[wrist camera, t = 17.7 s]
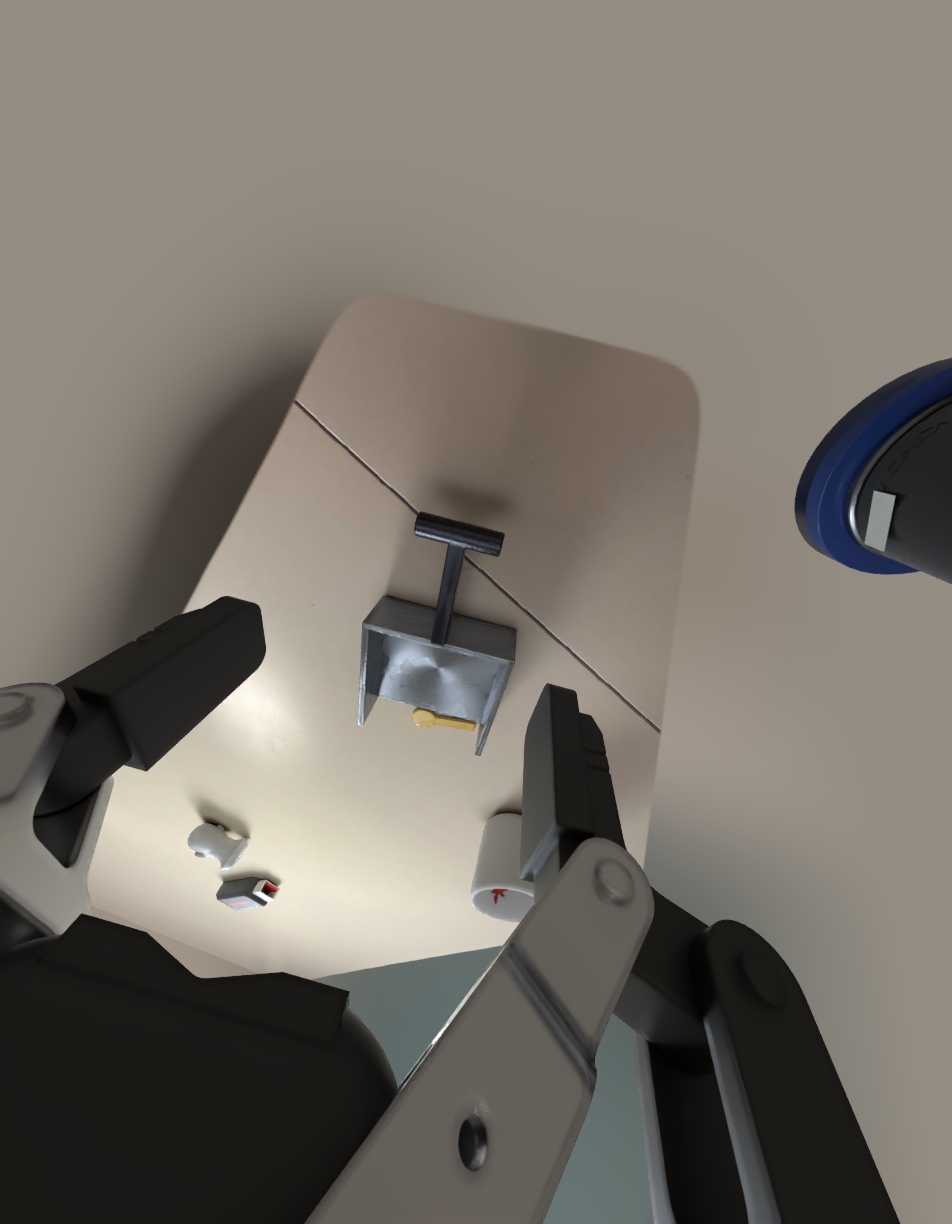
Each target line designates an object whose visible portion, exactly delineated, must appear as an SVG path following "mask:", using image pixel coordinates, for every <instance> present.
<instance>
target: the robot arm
mask: <svg viewBox="0 0 952 1224" xmlns="http://www.w3.org/2000/svg"><path fill="white" fill-rule="evenodd" d="M844 522H845V526H846V529H847V531H848V533H849V535H850V537H851V538H852V539H853V540H854V542H855V543H857V544H858V545H859V546H860V547H862V548H863V549H865V550H867V551H869V552H872V553H874V554H876V555H879V556H881V557H885V558H888V559H893V560H896V561H898V562H900V563H903V564H905V565H908V566H910V567H913V568H915V569H917V570H920V571H922V572H925V573H927V574H929V575H931V576H934V577H936V578H938V579H941V580H943V581H946V582H948V583H950V584H952V393H951V394H949V395H947V396H945V397H942V398H940V399H939V400H937V401H935V402H933V403H931V404H929V405H927V406H926V407H924V408H922V409H921V410H919V411H917V412H916V413H914V414H913V415H911V416H910V417H908V418H907V419H906V420H905V421H903V422H902V423H901V424H899V425H898V426H897V427H896V428H894V429H893V430H892V431H891V432H890V433H889V434H888V435H887V436H885V437H884V438H883V439H882V440H881V441H880V442H879V443H878V444H877V446H876V447H875V448H874V449H873V450H872V451H871V452H870V454H869V455H868V456H867V457H866V459H865V460H864V461H863V463H862V464H861V466H860V467H859V469H858V470H857V472H856V474H855V475H854V477H853V479H852V481H851V483H850V486H849V489H848V491H847V494H846V498H845V503H844ZM265 653H266V644H265V637H264V629H263V622H262V615H261V609H260V607H259V606H258V605H257V604H255V603H252V602H248V601H245V600H241V599H237V598H234V597H230V596H224V597H221V598H219V599H217V600H216V601H214V602H212V603H211V604H209V605H207V606H205V607H204V608H202V609H197V610H194V611H191V612H188V613H185V614H181V615H178V616H175V617H173V618H172V619H170V620H168V621H166V622H165V623H163V624H161V625H159V626H158V627H156V628H155V629H154V631H149V632H147V633H146V634H144V635H142V636H140V637H138V638H137V640H136V641H135V642H134V641H132V642H130V643H128V644H126V645H124V646H123V647H121V648H119V649H117V650H116V651H114V652H112V653H110V654H109V655H107V656H105V657H103V658H102V659H100V660H98V661H96V662H95V663H93V664H91V665H89V666H88V667H86V668H84V669H82V670H81V671H79V672H77V673H75V674H74V675H72V676H70V677H68V678H66V679H65V680H63V681H61V682H59V683H57V684H55V685H51V684H47V683H26V684H18V685H12V686H8V687H3V688H0V1224H543V1221H544V1219H545V1217H546V1214H547V1212H548V1209H549V1206H550V1204H551V1201H552V1199H553V1197H554V1194H555V1192H556V1189H557V1187H558V1184H559V1182H560V1179H561V1177H562V1174H563V1172H564V1170H565V1167H566V1164H567V1162H568V1160H569V1157H570V1155H571V1152H572V1150H573V1147H574V1145H575V1142H576V1140H577V1137H578V1135H579V1132H580V1130H581V1128H582V1125H583V1123H584V1120H585V1117H586V1115H587V1112H588V1110H589V1106H590V1103H591V1100H592V1097H593V1093H594V1089H595V1084H596V1077H597V1070H596V1067H595V1055H596V1052H597V1049H598V1046H599V1043H600V1041H601V1038H602V1036H603V1034H604V1031H605V1029H606V1027H607V1024H608V1022H609V1020H610V1017H611V1015H612V1013H613V1014H615V1015H616V1016H617V1017H619V1018H620V1019H621V1020H622V1021H623V1022H625V1023H626V1024H627V1025H629V1026H630V1027H631V1028H632V1036H633V1044H634V1053H635V1061H636V1069H637V1079H638V1088H639V1097H640V1105H641V1113H642V1122H643V1131H644V1140H645V1149H646V1157H647V1166H648V1175H649V1183H650V1192H651V1200H652V1210H653V1218H654V1224H900V1222H899V1219H898V1217H897V1215H896V1212H895V1210H894V1208H893V1205H892V1203H891V1200H890V1198H889V1196H888V1193H887V1191H886V1188H885V1186H884V1184H883V1182H882V1179H881V1177H880V1174H879V1172H878V1169H877V1167H876V1165H875V1162H874V1160H873V1158H872V1155H871V1153H870V1150H869V1148H868V1146H867V1143H866V1141H865V1138H864V1136H863V1134H862V1132H861V1129H860V1127H859V1124H858V1122H857V1120H856V1117H855V1115H854V1112H853V1110H852V1107H851V1105H850V1103H849V1100H848V1098H847V1096H846V1093H845V1091H844V1088H843V1086H842V1084H841V1082H840V1079H839V1077H838V1074H837V1072H836V1069H835V1067H834V1065H833V1062H832V1060H831V1057H830V1055H829V1053H828V1050H827V1048H826V1046H825V1043H824V1041H823V1039H822V1036H821V1034H820V1032H819V1029H818V1026H817V1024H816V1022H815V1020H814V1017H813V1015H812V1012H811V1010H810V1007H809V1005H808V1003H807V1000H806V998H805V996H804V994H803V991H802V989H801V987H800V985H799V983H798V982H797V980H796V978H795V976H794V975H793V973H792V972H791V970H790V969H789V967H788V966H787V964H786V963H785V961H784V960H783V959H782V958H781V956H780V955H779V954H778V953H777V952H776V950H775V949H774V948H773V947H772V946H771V945H770V944H769V943H768V942H767V941H766V940H765V939H764V938H762V937H761V936H760V935H759V934H758V933H756V932H755V931H754V930H752V929H751V928H749V927H747V926H746V925H744V924H741V923H739V922H737V921H733V920H721V921H718V922H716V923H715V924H713V925H711V926H710V927H709V926H707V925H706V924H704V923H703V922H701V921H700V920H698V919H697V918H695V917H694V916H692V915H691V914H689V913H688V912H686V911H684V910H683V909H682V908H680V907H679V906H677V905H675V904H674V903H672V902H671V901H669V900H668V899H666V898H665V897H664V896H662V895H661V894H659V893H658V892H657V891H656V890H655V889H654V888H652V887H651V886H650V884H649V882H648V879H647V877H646V876H645V873H644V872H643V870H642V868H641V867H640V865H639V864H638V863H637V861H636V860H635V859H634V858H633V857H632V856H631V855H630V854H629V853H628V852H627V849H626V847H625V843H624V839H623V834H622V829H621V824H620V819H619V815H618V810H617V805H616V800H615V795H614V790H613V785H612V780H611V775H610V774H609V765H608V760H607V757H606V750H605V745H604V740H603V735H602V733H601V731H600V729H599V728H598V726H597V724H596V723H595V721H594V719H593V718H592V716H591V715H587V714H583V713H580V712H579V707H578V700H577V694H576V692H575V691H574V690H571V689H567V688H563V687H560V686H556V685H552V684H548V683H547V684H546V685H545V687H544V689H543V691H542V693H541V696H540V698H539V700H538V702H537V705H536V707H535V709H534V712H533V714H532V716H531V718H530V721H529V724H528V727H527V731H526V736H525V745H524V770H523V797H522V823H521V849H520V876H519V879H522V880H525V881H529V882H532V883H534V904H533V906H532V907H531V908H530V910H529V911H528V913H527V914H526V915H525V917H524V918H523V919H522V921H521V922H520V923H519V925H518V926H517V927H516V929H515V930H514V932H513V933H512V934H511V936H510V937H509V938H508V940H507V941H506V942H505V944H504V945H503V946H502V948H501V949H500V951H499V952H498V953H497V955H496V956H495V957H494V959H493V960H492V961H491V963H490V964H489V966H488V967H487V968H486V970H485V971H484V972H483V974H482V975H481V977H480V978H479V979H478V980H477V982H476V983H475V984H474V986H473V987H472V989H471V990H470V991H469V993H468V994H467V995H466V997H465V998H464V999H463V1001H462V1002H461V1003H460V1005H459V1006H458V1007H457V1009H456V1010H455V1011H454V1013H453V1014H452V1015H451V1017H450V1018H449V1019H448V1021H447V1022H446V1023H445V1025H444V1026H443V1027H442V1029H441V1030H440V1031H439V1033H438V1034H437V1036H436V1037H435V1038H434V1040H433V1041H432V1043H431V1044H430V1045H429V1046H428V1048H427V1049H426V1050H425V1052H424V1053H423V1055H422V1056H421V1057H420V1059H419V1060H418V1061H417V1063H416V1064H415V1066H414V1067H413V1068H412V1069H411V1071H410V1072H409V1074H408V1075H407V1076H406V1078H405V1079H404V1080H403V1082H402V1083H401V1085H400V1086H399V1087H398V1086H397V1083H396V1080H395V1076H394V1073H393V1071H392V1069H391V1066H390V1064H389V1061H388V1059H387V1057H386V1054H385V1052H384V1050H383V1049H382V1047H381V1045H380V1043H379V1042H378V1040H377V1039H376V1037H375V1035H374V1033H373V1032H372V1031H371V1030H370V1028H368V1026H367V1025H366V1024H365V1022H364V1021H363V1020H362V1019H361V1018H360V1017H359V1016H358V1015H356V1014H355V1013H354V1012H353V1011H352V1010H351V1009H349V1008H348V1006H349V991H346V990H342V989H339V988H335V987H332V986H329V985H325V984H322V983H318V982H315V981H312V980H308V979H305V978H301V977H298V976H294V975H291V974H288V973H284V972H278V973H266V974H255V975H242V976H231V977H218V978H199V977H196V976H195V975H193V974H192V973H191V972H190V971H189V970H188V969H186V968H185V967H184V966H183V965H182V964H181V963H180V962H179V961H178V960H177V959H175V958H174V957H173V956H172V955H171V954H170V953H169V952H167V950H165V949H164V948H163V947H162V946H161V945H160V944H159V943H158V942H157V941H156V940H154V939H153V938H152V937H151V936H150V935H149V934H148V933H147V932H144V931H140V930H137V929H134V928H130V927H127V926H124V925H120V924H117V923H113V922H110V921H106V920H103V919H99V918H96V917H93V916H90V896H89V891H88V882H87V881H88V872H89V868H90V864H91V861H92V857H93V854H94V850H95V847H96V843H97V840H98V837H99V833H100V830H101V826H102V823H103V819H104V816H105V813H106V809H107V806H108V802H109V799H110V795H111V792H112V789H113V784H114V780H113V777H112V774H113V773H115V772H116V771H117V770H118V769H119V768H120V767H122V766H123V765H126V766H129V767H133V768H136V769H140V770H143V771H148V770H149V769H150V768H151V767H152V766H153V765H154V764H155V763H156V762H158V761H159V760H160V759H161V758H162V757H163V756H164V755H165V754H166V753H167V752H168V751H169V750H171V749H172V748H173V747H174V746H175V745H176V744H177V743H178V742H179V741H180V740H181V739H182V738H183V737H185V736H186V735H187V734H188V733H189V732H190V731H191V730H192V729H193V728H194V727H195V726H196V725H198V724H199V723H200V722H201V721H202V720H203V719H204V718H205V717H206V716H207V715H208V714H209V713H210V712H212V711H213V710H214V709H215V708H216V707H217V706H218V705H219V704H220V703H221V702H222V701H223V700H225V699H226V698H227V697H228V696H229V695H230V694H231V693H232V692H233V691H234V690H235V689H236V688H237V687H239V686H240V685H241V684H242V683H243V682H244V681H245V680H246V679H247V678H248V677H249V676H250V675H252V674H253V673H254V672H255V671H256V670H257V669H258V668H259V666H260V665H261V663H262V662H263V659H264V657H265Z"/></svg>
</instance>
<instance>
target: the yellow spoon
mask: <svg viewBox="0 0 952 1224" xmlns="http://www.w3.org/2000/svg"><path fill="white" fill-rule="evenodd" d="M412 720H413V721H414V723H415V724H417V725H418V726H420V727H424V728H429V727H432V726H434V725H440V726H446V727H452V728H458V729H464V730H469V731H474V727H475V722H474V721H470V720H464V719H458V718H452V717H446V716H440V715H435V713H434V712H433V711H432V710H429V709H425V708H418V709H416V710H415V711H414V712H413V715H412Z"/></svg>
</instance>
